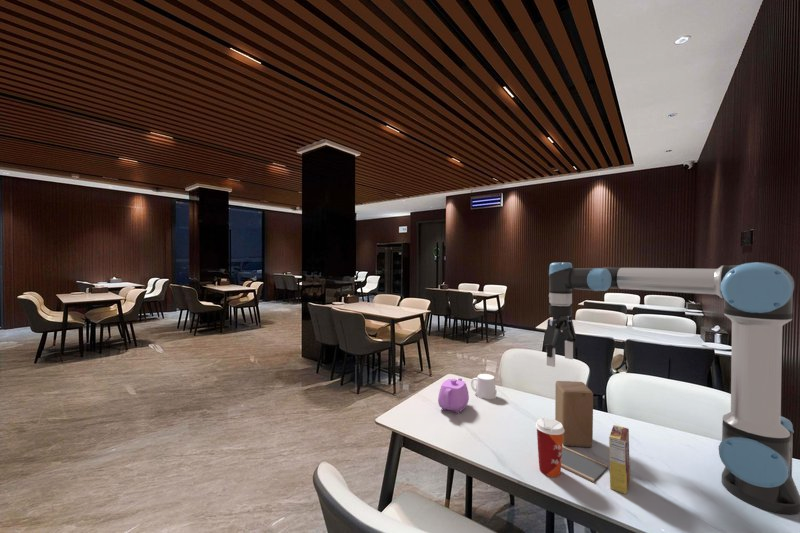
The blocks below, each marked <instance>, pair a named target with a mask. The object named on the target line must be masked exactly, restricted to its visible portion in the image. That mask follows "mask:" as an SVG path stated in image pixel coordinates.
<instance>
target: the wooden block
mask: <svg viewBox="0 0 800 533" xmlns="http://www.w3.org/2000/svg"><path fill="white" fill-rule="evenodd" d="M554 397H555V400H554V401H555V403H554V404H555V406H554V407H555V409H554V410H555V413H554V414H555V419H554V420H556V421H558V422H560V423H561V424H562V425H563V428H564V430H565V431H564V433H563V444H562V446H565V447H566V446H568V447H582V448H583V447H584V448H592V447H593V441H594V440H593V439H594V438H593V437H594V436H593V435H594V434H593V431H594V393H593V391H592V390H591V389H590V388H589V387H588V386H587V385H586V383H585V382H584V381H573V380H572V381H570V380H557V381H555V396H554Z"/></svg>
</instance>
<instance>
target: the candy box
mask: <svg viewBox="0 0 800 533" xmlns="http://www.w3.org/2000/svg"><path fill="white" fill-rule="evenodd" d="M629 432H630V431H629V428H628V427H623V426H619V425H617V424H616V425H613V426H612V429H611V431H610V434H609V438H608V439H609V440H608V442H609V484H610V485H609V487H610V489H611V490H613V491H616V492H618V493H621V494H624V495H627V494H628V490H629V483H630V482H631V481H630V480H631V473H630V472H631V468H630V467H631V465H630V463H631V462H630V460H631V459H630V434H629Z"/></svg>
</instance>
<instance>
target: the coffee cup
mask: <svg viewBox="0 0 800 533" xmlns="http://www.w3.org/2000/svg"><path fill="white" fill-rule="evenodd" d="M535 428H536V435H537V436H536V437H537V454H538V455H537V456H538V466H539V467H538V468H539V471H540V472H541V473H542V475H544V476H547V477H550V478H558V477H559V476H560V475H561V471H562V470H561V469H562V467H561V459H562V446H563V433H564V431H565V430H564V428H563V425H562V424H561V423H560V422H558V421H556V420H555V419H553V418H549V417H544V418H538V419H537V421H536V423H535Z"/></svg>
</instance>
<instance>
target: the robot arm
mask: <svg viewBox="0 0 800 533" xmlns="http://www.w3.org/2000/svg"><path fill="white" fill-rule="evenodd" d="M548 277H549V278H548V279H549V280H548V283H549V286H548V287H549V288H548V289H549V292H548V293H549V294H548V298H549V299H548V301H549V305H548V313H549V316H550V315H551V316H552V319H551V318H548V319H547V326H546V330H545V335H544V339H543V342H542V343H543V344H542V346H543V347H544V348H546V366H549V367H552V368H555V367H556V347H555V345H556V342H557V340H558V338H559V335H560V333H561V332H562V334H563V336H564V338H565V340H564V358H565V359H569V360H573V359H574V343H575V342H577V334H576V331H575V326H574V323H573V316H572V314H573V306H572V304H573V290H582V291H594V292H606V291H608V290H610V289H613V290H614V289H617V290H619V289H620V290H635V291H636V290H637V291H651V292H652V291H653V292H667V293H668V292H669V293H671V292H672V293H684V294H702V295H716V296H719V298H720V299H723V315H724V316H725V317H726V318H727V319H729V320H730V321H731V357H730V358H731V361H730V362H731V365H730V366H731V369H730V370H731V372H730V379H731V380H730V412H728V413H726V414H723V415H722V426H721V428H722V429H721V441H720V443H719V445H718V456H719V458H720V460H721V463H722V464H723V466H724V468H723V470H722V473H721V484H722V486H723V487H724V488H725V489H726V490H727V491H728V492H729V493H730V494H731V495H733V496H735V497H737V498H738V499H741V500H742V501H743V502H746V503H748V504H749V505H752V506H755V507H757V508H760V509H762V510H765V511H769V512H773V513H778V514H783V515H797V514H799V513H800V492H799V491H798V490H799V489H798V488H797V485H796V483H795V481H794V477H793V434H794V433H795V431H794V429H793V428H794V427H793V423H792V422H791V420H790V419H788V418H786V417H784V416H782V366H783V365H782V364H783V363H782V360H783V359H782V358H783V357H782V356H783V326H784V325H786V324H788V323H789V322H791V321H793V300H794V299H793V297H794V296H793V295H794V294H793V293H794V291H795V287H796V286H795V280H794V277H793V276H792V275H791V273H790V272H789V271H788V270H786V269H785V268H784V267H781V265H777V264H775V263H770V262H757V261H756V262H745V263H741V264H734V265H720V266H719V267H718V268H682V267H681V268H677V267H675V268H674V267H671V268H670V267H667V268H666V267H663V268H662V267H661V268H660V267H611V266H603V267H584V268H583V267H581V268H580V267H579V268H577V267H573V264H572V263H571V262H551V263H550V264H549V269H548Z"/></svg>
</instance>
